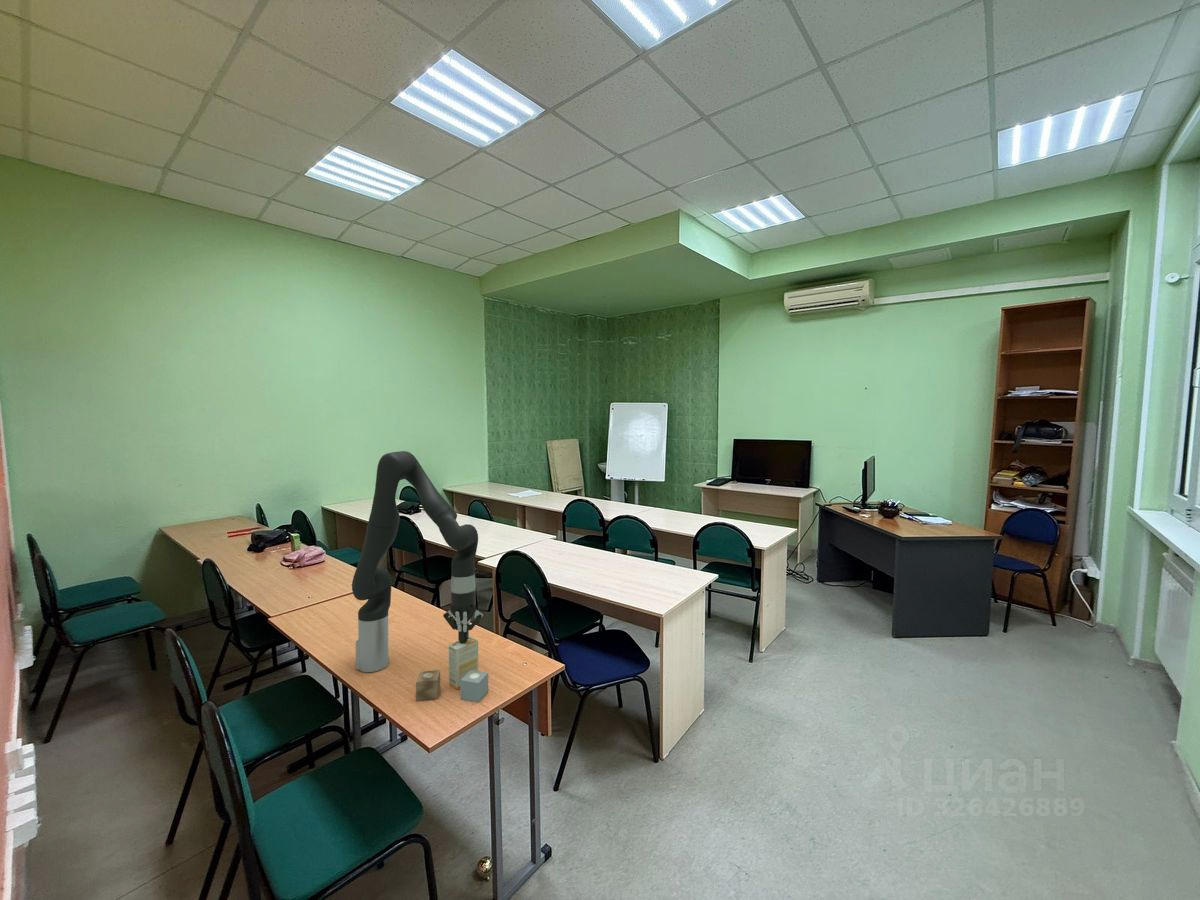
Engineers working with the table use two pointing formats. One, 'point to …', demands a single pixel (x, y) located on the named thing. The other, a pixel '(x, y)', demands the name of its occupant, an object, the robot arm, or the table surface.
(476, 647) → the supplement box
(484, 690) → the slate block
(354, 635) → the table surface
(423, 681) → the walnut block
